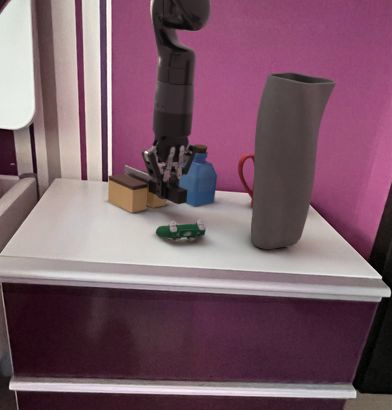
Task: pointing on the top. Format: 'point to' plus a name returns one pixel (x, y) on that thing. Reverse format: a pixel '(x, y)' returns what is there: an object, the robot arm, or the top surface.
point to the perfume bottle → (199, 179)
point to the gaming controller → (182, 231)
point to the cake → (131, 193)
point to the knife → (173, 191)
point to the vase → (286, 156)
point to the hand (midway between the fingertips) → (167, 196)
